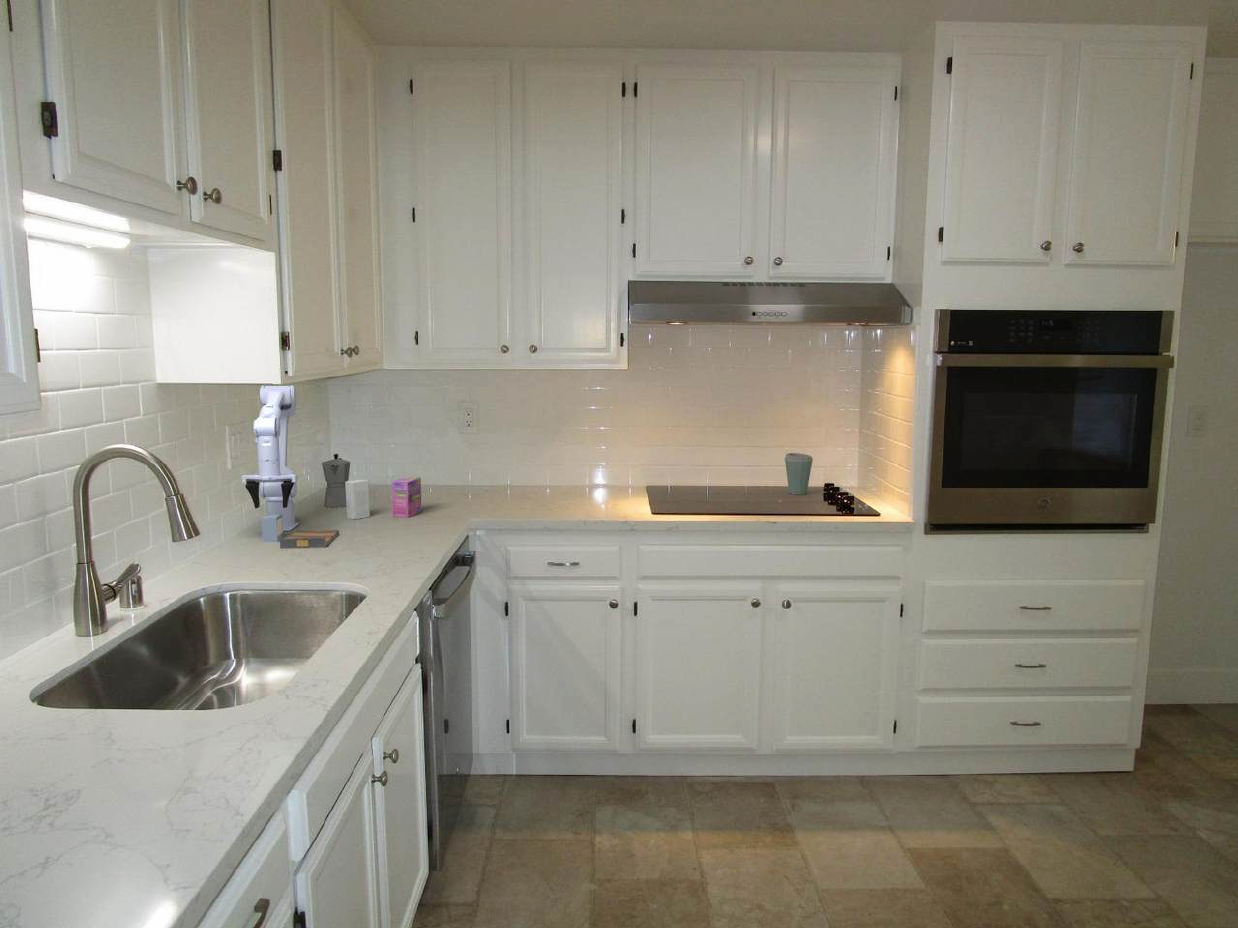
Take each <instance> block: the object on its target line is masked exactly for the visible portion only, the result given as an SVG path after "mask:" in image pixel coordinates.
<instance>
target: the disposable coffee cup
mask: <svg viewBox="0 0 1238 928" xmlns="http://www.w3.org/2000/svg"><path fill="white" fill-rule="evenodd" d="M813 461H814V459H813V457H812V456H811V455H809V454H805V453H799V452H788V453H786V455H785V457H784V462H785V470H786V479H787V486H788V492H789V494H790V493H793V494H792V495H794V494H804V495H806V494H807V493H808V490H809V489H808V487H809V483H810V482H809V481H810V475H811V470H812V466H813ZM805 493H806V494H805Z"/></svg>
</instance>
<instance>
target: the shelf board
mask: <svg viewBox="0 0 1238 928" xmlns="http://www.w3.org/2000/svg"><path fill="white" fill-rule="evenodd" d="M339 532H340V531H339V529H328V530H327V529H322V530H321V529H320V530H312V529H311V530H296V531H294V532H292V534H291V535H289V536H288V537H287V538H286V539H289V538H326V546H327V545H328V544H329V543H330V544H331V543H332V542H333V541H334V539H335V538H336V537H337V536H339V534H340V533H339ZM330 544H329V545H330ZM327 547H328V546H327Z"/></svg>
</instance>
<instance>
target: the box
mask: <svg viewBox="0 0 1238 928" xmlns="http://www.w3.org/2000/svg"><path fill="white" fill-rule="evenodd" d="M391 501H392V502H391V504H392V505H391V506H392V507H391V509H392V517H393V518H405V519H407V518H408V519H409V518H410V517H412V516H415V515H417V514H420V513H422V477H419V476H403V477H401V478H398V479H396V480H392V481H391Z"/></svg>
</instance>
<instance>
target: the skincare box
mask: <svg viewBox="0 0 1238 928" xmlns="http://www.w3.org/2000/svg"><path fill="white" fill-rule="evenodd" d="M345 487H346V506H347V507H346V517H347V519H349V518H350V519H349V520H353V519H355V520H358V519H360V518H361V519H365V518H369V517H371V510H370V490H369V480H368V479H355V480H348V481H347V482H345Z"/></svg>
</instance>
